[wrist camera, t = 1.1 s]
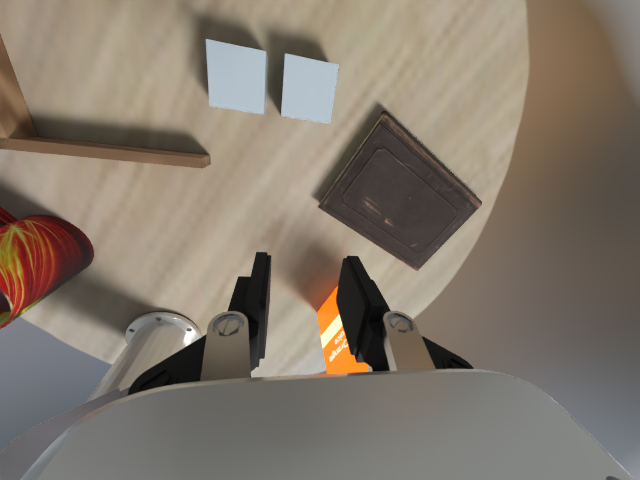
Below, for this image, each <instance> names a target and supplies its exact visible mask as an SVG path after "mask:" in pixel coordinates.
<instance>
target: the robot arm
mask: <svg viewBox="0 0 640 480" xmlns="http://www.w3.org/2000/svg"><path fill="white" fill-rule="evenodd" d="M270 278H271V255H267V252H256V256H255V261H254V265H253V269H252V274H251V277H238V279H237V282H236V286H235V289H234V292H233V295H232V299H231V302H230V305H229V308H228V311H227V312H223V313H221V314H218V315H217V316H215V317H214V318H213V319H212V320H211V321H210V322H209V325H208V329H207V334H206V335H205V336H203V337H201V334H200V332H199V329H198V328H197V327H196V325H195V324H193V323H192V322H191V321H190V320H188V319H187V318H185V317H182V316H180V315H177V314H174V313H168V312H152V313H148V314H144V315H142V316H140V317H138V318H136V319H135V320H134V321H133V322H132V323H131V324H130V326H129V327H128V328H127V331H126V334H125V336H126V342H127V346H126V347H125V349H124V350H123V351H122V353H121V354H120V356H119V357H118V358H117V360H116V361H115V363H114V364H113V365H112V367H111V368H110V370H109V371H108V372H107V374H106V375H105V377H104V378H103V379H102V381H101V382H100V383H99V385H98V386H97V388H96V389H95V390H94V392H93V393H92V395H91V396H90V397H89V399H88V400H87V402H86V403H85V404H83V405H80V406H78V407H76V408H74V409H72V410H69V411H67V412H65V413H63V414H61V415H58V416H56V417H54V418H52V419H50V420H47V421H45V422H43V423H41V424H39V425H36V426H35V427H33V428H31V429H29V430H27V431H26V432H24V433H22V434H21V435H19V436H18V437H17V438H16V439H14V440H13V441H12V442H11V443H9V444H8V445H7V447H6V448H5V449H4V450H3V451H2V452H1V453H0V480H635V479H634V478H633V477H632V476H631V475H630V474H629V473H628V472H627V471H626V470H625V469H624V468H623V467H622V466H621V465H620V464H619V463H618V462H617V461H616V460H615V459H614V458H613V457H612V456H611V455H610V454H609V453H608V452H607V450H605V448H604V447H603V446H602V445H601V444H600V443H599V442H598V441H597V440H596V439H595V438H594V437H593V436H592V435H590V433H589V432H588V431H587V430H586V429H584V428H583V426H582V425H581V424H580V423H579V422H577V421H576V420H575V419H574V418H573V417H572V416H571V415H570V414H569V413H568V412H567V411H566V410H565V409H564V408H563V407H561V406H560V405H559V404H558V403H557V402H556V401H555V400H553V399H552V398H551V397H550V396H549V395H547V394H546V393H545V392H544V391H542V390H540V389H539V388H537V387H536V386H534V385H532V384H530V383H528V382H526V381H523V380H521V379H518V378H516V377H512V376H509V375H506V374H503V373H498V372H492V371H487V370H477V369H474V368H473V367H472V366H471V365H470V364H469V363H468V362H467V361H465V360H464V359H462V358H461V357H459V356H457V355H456V354H454V353H452V352H450V351H448V350H446V349H445V348H443V347H441V346H439V345H437V344H436V343H434V342H432V341H430V340H428V339H427V338H425V337H423V336H421V334H420V332H419V330H418V327H417V325H416V323H415V322H414V320H413V319H412V318H411V317H409V316H408V315H406V314H404V313H402V312H398V311H391V310H390V309H389V307H388V305H387V303H386V301H385V300H384V298H383V296H382V294H381V292H380V291H379V289H378V287H377V285H376V284H375V282H374V281H373V280H371V279H370V277H369V275H368V274H367V272H366V270H365V268H364V266H363V264H362V263H361V261H360V259H359V257H358V256H347V258H344V259H343V263H342V268H341V274H340V279H339V284H338V289H337V295H336V304H337V308H338V311H339V315H340V318H341V322H342V326H343V329H344V333H345V336H346V340H347V343H348V347H349V350H350V354H351V355H354V356H355V360H356V363H366V364H368V372H354V373H333V374H313V375H293V376H275V377H256V378H251V371H252V370H254V369H255V368H256V367H259V360H260V359H264V357H265V347H266V336H267V325H268V314H269V303H270Z"/></svg>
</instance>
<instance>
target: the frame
mask: <svg viewBox="0 0 640 480" xmlns="http://www.w3.org/2000/svg"><path fill="white" fill-rule="evenodd" d="M0 149H7V150H18V151H28V152H38V153H49V154H59V155H70V156H80V157H90V158H101V159H111V160H122V161H132V162H142V163H153V164H163V165H174V166H184V167H194V168H204V167H206V166H208V165H210V164H211V163H210V155H205V154H196V153H187V152H177V151H168V150H158V149H149V148H139V147H130V146H120V145H111V144H102V143H92V142H83V141H73V140H64V139H54V138H45V137H38V136H37V133H36V130H35V127H34V125H33V122H32V119H31V117H30V114H29V111H28V108H27V106H26V103H25V100H24V98H23V95H22V92H21V89H20V87H19V84H18V81H17V79H16V76H15V73H14V70H13V68H12V65H11V62H10V60H9V57H8V54H7V51H6V49H5V46H4V43H3V41H2V38H1V35H0Z"/></svg>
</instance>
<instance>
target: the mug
mask: <svg viewBox="0 0 640 480" xmlns="http://www.w3.org/2000/svg"><path fill="white" fill-rule="evenodd" d="M93 257H94V250H93V246H92V244H91V242H90V240H89V239H88V238H87V236H86V235H85V234H84V233H83V232H82V231H81V230H80V229H78V228H77V227H76V226H74V225H73V224H71V223H69V222H67V221H65V220H62V219H60V218H57V217H53V216H47V215H33V216H29V217H26V218H23V219H20V220H17V219H16V218H15V217H13V216H12V215H11V214H9V213H8V212H7V211H6V210H4V209H3V208H2V207H0V329H1V328H3V327H5V326H6V325H8V324H9V323H10V322H12V321H13V320H15V319H16V318H17V317H19V316H20V315H22V314H23V313H24V312H26V311H27V310H28V309H30V308H31V307H33V306H34V305H35V304H37V303H38V302H40V301H41V300H42V299H44V298H45V297H46V296H48V295H49V294H51V293H52V292H53V291H55V290H56V289H58V288H59V287H60V286H62V285H63V284H64V283H66V282H67V281H69V280H70V279H71V278H73V277H74V276H76V275H77V274H78V273H80V272H81V271H82V270H84V269H85V268H87V267H88V266H89V265H90V264H91V262H92V261H93Z"/></svg>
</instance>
